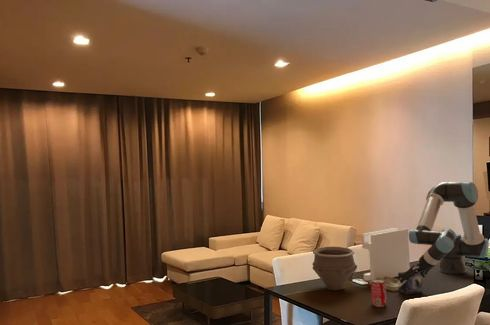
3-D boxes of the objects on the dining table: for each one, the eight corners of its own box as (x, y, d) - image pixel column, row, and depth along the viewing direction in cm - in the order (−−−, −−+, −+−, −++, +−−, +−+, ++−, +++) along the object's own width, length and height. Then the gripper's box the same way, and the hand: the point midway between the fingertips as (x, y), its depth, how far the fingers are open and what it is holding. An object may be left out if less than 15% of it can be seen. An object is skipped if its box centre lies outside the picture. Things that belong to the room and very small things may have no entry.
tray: (385, 280, 242) (385, 276, 242) (411, 287, 227) (410, 282, 227) (368, 284, 236) (368, 280, 236) (393, 291, 220) (393, 287, 220)
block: (374, 282, 239) (372, 235, 239) (363, 280, 245) (361, 233, 246) (410, 272, 258) (407, 228, 259) (398, 270, 265) (396, 227, 266)
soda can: (383, 302, 203) (382, 278, 203) (389, 307, 196) (387, 282, 196) (369, 303, 202) (368, 279, 203) (374, 308, 195) (373, 283, 196)
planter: (358, 283, 238) (356, 246, 239) (358, 296, 215) (356, 254, 215) (315, 282, 245) (314, 245, 245) (310, 293, 221) (309, 253, 222)
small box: (406, 295, 213) (405, 275, 213) (398, 291, 219) (397, 272, 219) (422, 292, 216) (421, 273, 216) (414, 289, 222) (413, 270, 222)
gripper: (418, 269, 199) (395, 293, 212) (449, 262, 210) (424, 285, 223) (409, 256, 203) (386, 280, 217) (439, 250, 215) (416, 274, 228)
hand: (405, 283), depth 220 cm, fingers closed on small box, 11 cm apart
